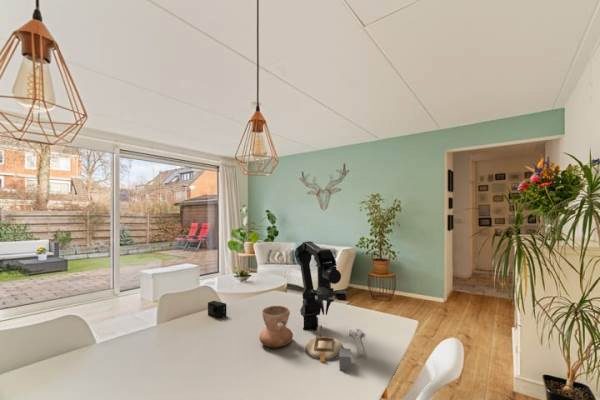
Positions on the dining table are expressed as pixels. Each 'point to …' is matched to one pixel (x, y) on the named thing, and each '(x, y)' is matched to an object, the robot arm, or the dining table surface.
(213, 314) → the digital camera
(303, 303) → the robot arm
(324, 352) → the index disc
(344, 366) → the link block
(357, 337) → the adjustable wrench
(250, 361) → the dining table surface
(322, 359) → the turntable base
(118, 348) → the dining table surface
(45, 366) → the dining table surface
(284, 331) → the ceramic jug
